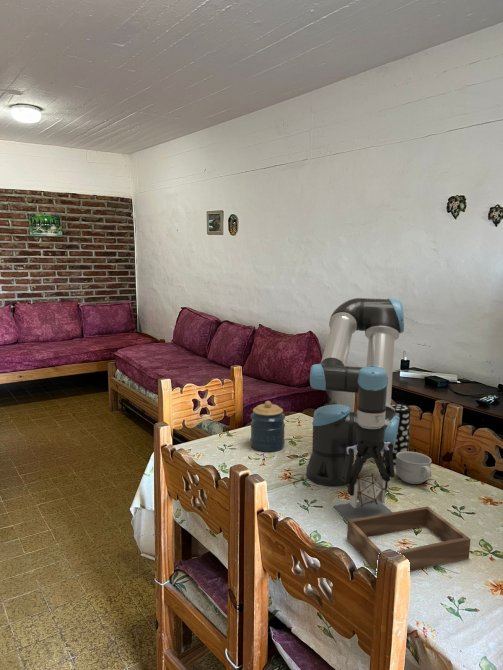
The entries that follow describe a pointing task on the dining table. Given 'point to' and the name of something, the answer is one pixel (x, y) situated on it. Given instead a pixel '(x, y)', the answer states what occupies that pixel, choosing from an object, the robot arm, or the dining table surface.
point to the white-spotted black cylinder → (401, 430)
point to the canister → (267, 428)
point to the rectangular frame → (419, 557)
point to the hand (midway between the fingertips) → (366, 503)
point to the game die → (368, 490)
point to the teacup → (413, 467)
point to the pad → (361, 510)
